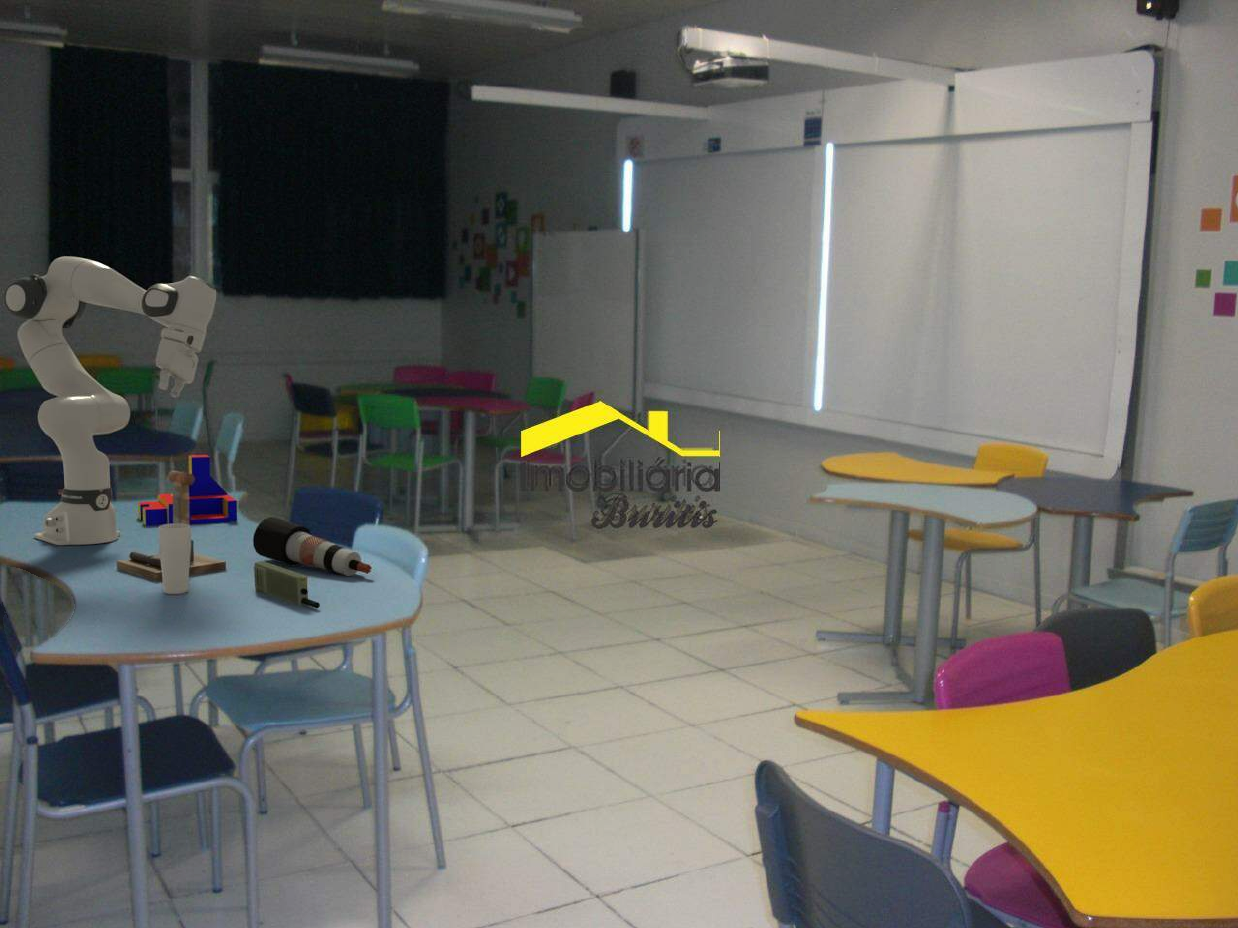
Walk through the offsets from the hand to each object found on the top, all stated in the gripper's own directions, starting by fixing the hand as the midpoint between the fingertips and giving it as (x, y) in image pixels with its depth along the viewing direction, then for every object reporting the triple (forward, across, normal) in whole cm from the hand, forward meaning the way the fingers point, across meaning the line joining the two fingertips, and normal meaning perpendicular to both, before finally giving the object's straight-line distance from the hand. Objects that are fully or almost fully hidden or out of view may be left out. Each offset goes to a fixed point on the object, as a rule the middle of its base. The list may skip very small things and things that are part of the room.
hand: (168, 392), depth 300 cm
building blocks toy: (+29, -61, -5) cm, 68 cm away
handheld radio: (+42, +30, +49) cm, 71 cm away
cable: (+34, +1, +48) cm, 58 cm away
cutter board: (+42, +4, +15) cm, 44 cm away
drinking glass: (+46, +26, +24) cm, 58 cm away
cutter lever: (+38, +3, +16) cm, 41 cm away
